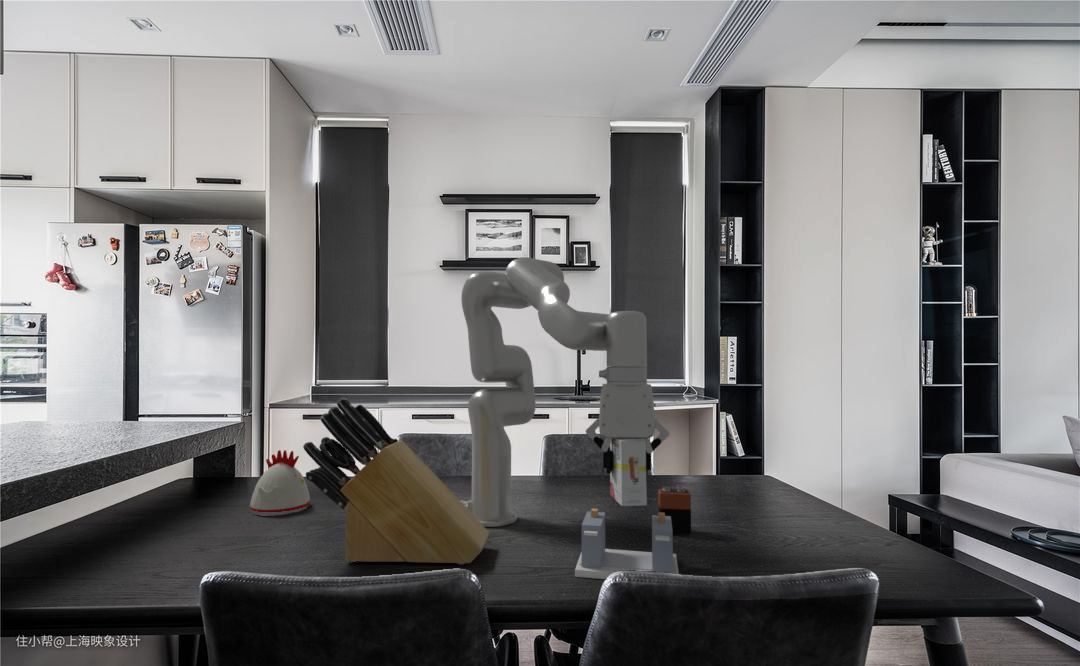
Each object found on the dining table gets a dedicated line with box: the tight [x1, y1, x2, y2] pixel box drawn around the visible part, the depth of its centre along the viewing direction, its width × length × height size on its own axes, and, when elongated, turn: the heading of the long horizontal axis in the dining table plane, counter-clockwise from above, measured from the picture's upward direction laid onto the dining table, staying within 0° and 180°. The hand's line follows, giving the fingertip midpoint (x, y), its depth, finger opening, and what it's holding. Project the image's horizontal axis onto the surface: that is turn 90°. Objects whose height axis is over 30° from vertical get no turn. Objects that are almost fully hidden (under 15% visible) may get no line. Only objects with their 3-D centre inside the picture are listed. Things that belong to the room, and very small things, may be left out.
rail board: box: [574, 507, 680, 580], centre depth 100 cm, size 18×12×10 cm, turn 78°
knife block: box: [302, 397, 490, 565], centre depth 107 cm, size 11×35×31 cm, turn 87°
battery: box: [657, 486, 692, 536], centre depth 122 cm, size 4×7×10 cm, turn 83°
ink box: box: [609, 438, 648, 507], centre depth 101 cm, size 9×5×12 cm, turn 7°
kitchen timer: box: [249, 449, 311, 512], centre depth 140 cm, size 14×14×15 cm
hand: (627, 472), depth 101 cm, fingers closed on ink box, 6 cm apart
